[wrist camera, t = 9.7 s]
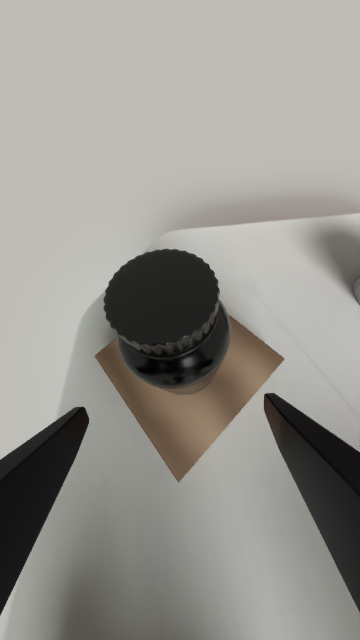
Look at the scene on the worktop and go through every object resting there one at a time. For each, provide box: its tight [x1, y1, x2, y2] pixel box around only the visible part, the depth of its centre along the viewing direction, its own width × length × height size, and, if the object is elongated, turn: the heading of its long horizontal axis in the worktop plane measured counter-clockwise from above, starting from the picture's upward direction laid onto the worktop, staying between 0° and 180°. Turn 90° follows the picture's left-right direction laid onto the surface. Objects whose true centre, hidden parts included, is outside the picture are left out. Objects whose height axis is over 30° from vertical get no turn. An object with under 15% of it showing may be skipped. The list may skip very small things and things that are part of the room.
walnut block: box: [95, 315, 284, 483], centre depth 19 cm, size 14×14×3 cm
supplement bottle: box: [104, 249, 231, 395], centre depth 12 cm, size 7×7×12 cm
